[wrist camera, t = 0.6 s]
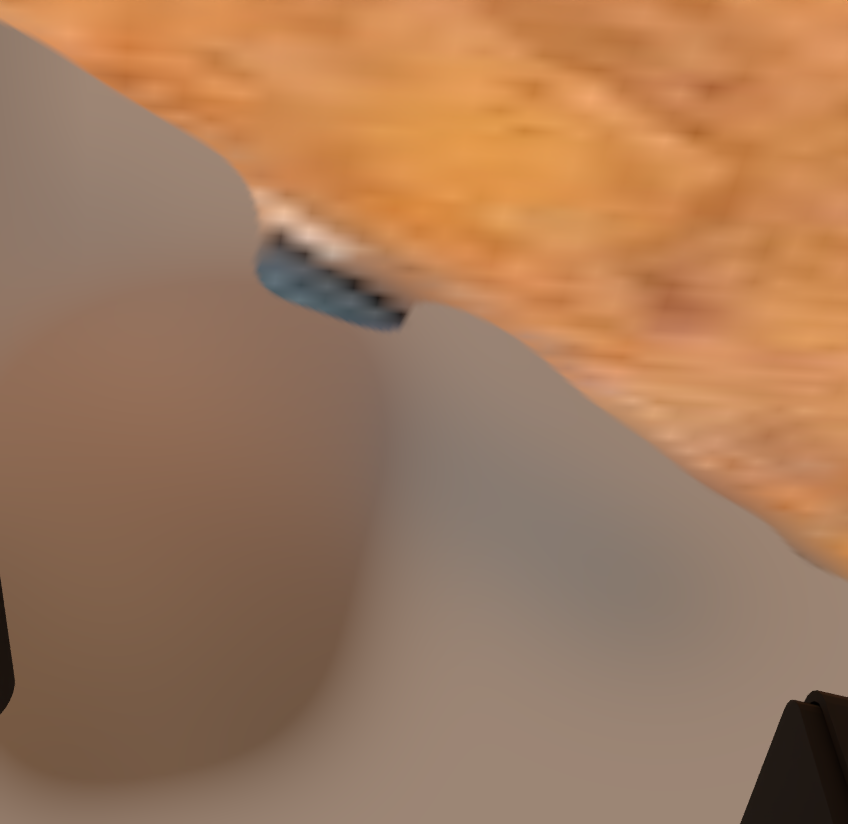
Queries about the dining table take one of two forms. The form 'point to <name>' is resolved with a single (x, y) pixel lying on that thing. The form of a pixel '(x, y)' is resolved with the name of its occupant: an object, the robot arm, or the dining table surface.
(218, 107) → the dining table surface
